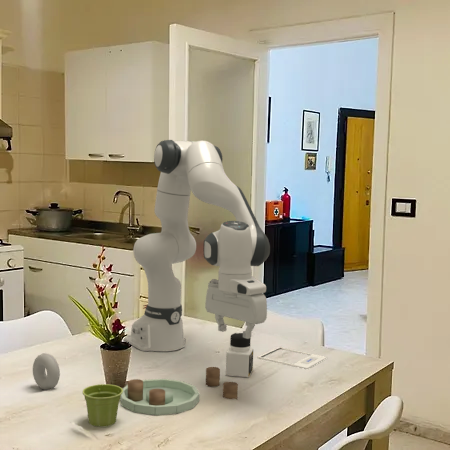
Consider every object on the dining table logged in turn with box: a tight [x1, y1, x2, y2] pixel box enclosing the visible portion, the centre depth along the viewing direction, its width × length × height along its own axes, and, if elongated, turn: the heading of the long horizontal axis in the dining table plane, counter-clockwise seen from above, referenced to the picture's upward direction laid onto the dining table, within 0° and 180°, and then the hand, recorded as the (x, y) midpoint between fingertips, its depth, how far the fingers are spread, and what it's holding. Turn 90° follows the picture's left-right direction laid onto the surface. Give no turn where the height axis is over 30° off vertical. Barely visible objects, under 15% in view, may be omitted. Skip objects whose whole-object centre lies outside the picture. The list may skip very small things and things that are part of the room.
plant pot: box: [82, 383, 123, 428], centre depth 154 cm, size 9×9×9 cm
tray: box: [119, 378, 200, 416], centre depth 169 cm, size 20×20×3 cm
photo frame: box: [257, 346, 328, 370], centre depth 212 cm, size 15×1×18 cm
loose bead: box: [222, 381, 239, 401], centre depth 173 cm, size 4×4×4 cm
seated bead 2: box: [149, 389, 165, 406], centre depth 163 cm, size 4×4×4 cm
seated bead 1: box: [127, 378, 143, 402], centre depth 169 cm, size 4×4×4 cm
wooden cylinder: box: [205, 366, 221, 388], centre depth 185 cm, size 4×4×4 cm
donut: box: [32, 352, 61, 391], centre depth 177 cm, size 10×3×10 cm, turn 50°
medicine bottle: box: [225, 332, 254, 378], centre depth 195 cm, size 7×7×12 cm
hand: (234, 334), depth 173 cm, fingers open, 8 cm apart
